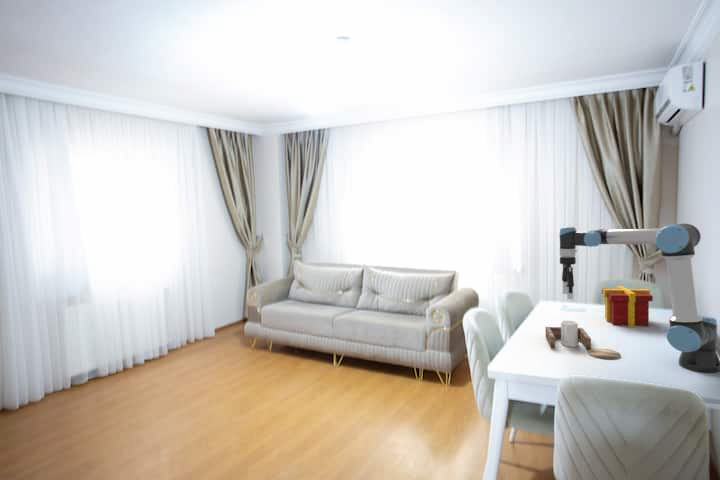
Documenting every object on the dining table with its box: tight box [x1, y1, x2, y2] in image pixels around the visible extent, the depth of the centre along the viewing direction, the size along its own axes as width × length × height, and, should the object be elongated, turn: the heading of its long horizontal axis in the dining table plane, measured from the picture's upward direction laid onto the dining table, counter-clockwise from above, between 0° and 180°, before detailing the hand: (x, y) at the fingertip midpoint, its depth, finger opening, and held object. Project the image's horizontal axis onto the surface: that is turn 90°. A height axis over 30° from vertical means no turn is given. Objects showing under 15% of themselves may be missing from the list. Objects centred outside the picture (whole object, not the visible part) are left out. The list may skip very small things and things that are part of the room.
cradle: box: [545, 326, 592, 351], centre depth 238 cm, size 20×19×6 cm
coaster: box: [587, 347, 621, 360], centre depth 218 cm, size 14×14×1 cm
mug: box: [560, 320, 579, 348], centre depth 234 cm, size 12×8×12 cm
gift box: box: [601, 285, 654, 328], centre depth 274 cm, size 25×25×20 cm
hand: (567, 296), depth 233 cm, fingers open, 13 cm apart
